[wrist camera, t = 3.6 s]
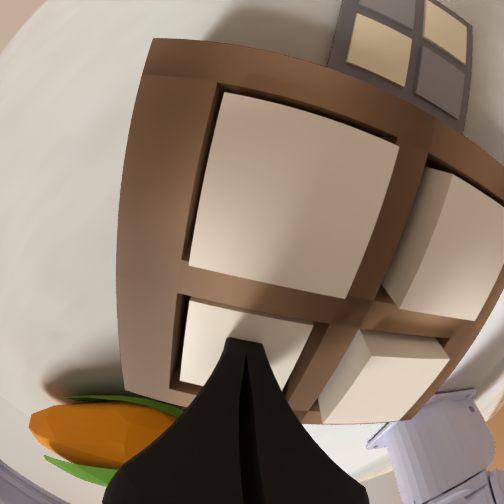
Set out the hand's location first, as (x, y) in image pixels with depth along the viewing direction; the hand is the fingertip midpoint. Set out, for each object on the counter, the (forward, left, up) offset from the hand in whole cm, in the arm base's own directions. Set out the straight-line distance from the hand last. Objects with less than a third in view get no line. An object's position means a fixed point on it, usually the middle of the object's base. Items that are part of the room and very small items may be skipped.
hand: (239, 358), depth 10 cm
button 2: (-6, -6, -1) cm, 9 cm away
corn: (+8, +13, -3) cm, 16 cm away
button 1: (-6, 0, -1) cm, 6 cm away
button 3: (0, 0, -2) cm, 2 cm away
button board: (-3, -3, -3) cm, 6 cm away
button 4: (0, -6, -1) cm, 6 cm away
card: (-4, -15, -3) cm, 16 cm away
